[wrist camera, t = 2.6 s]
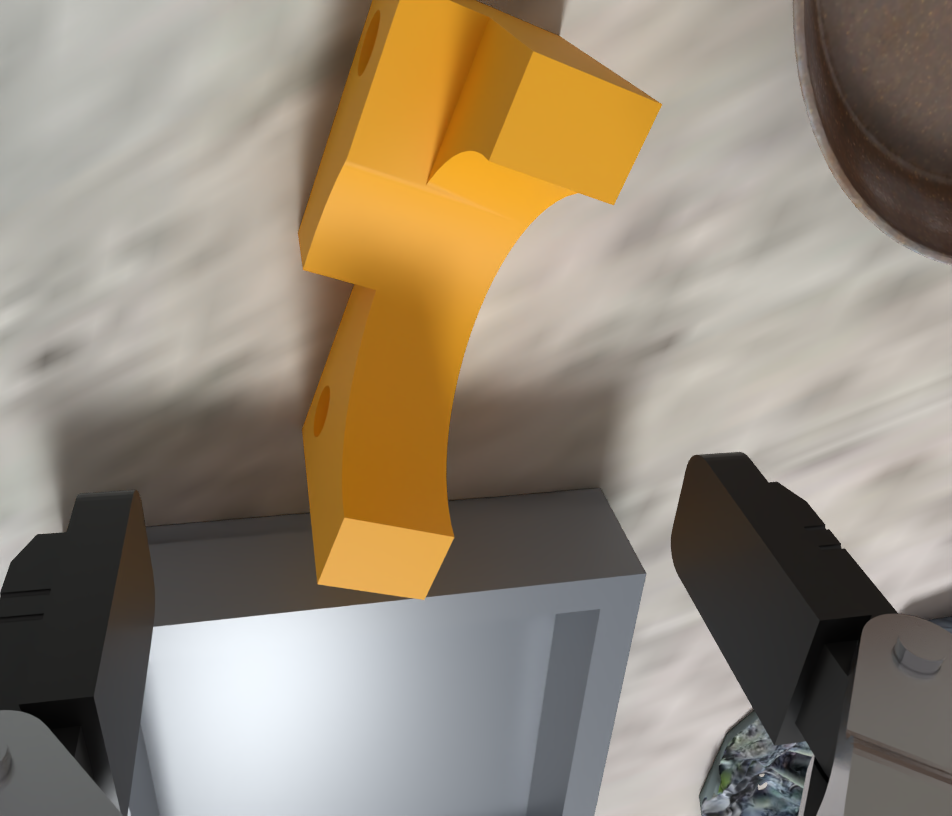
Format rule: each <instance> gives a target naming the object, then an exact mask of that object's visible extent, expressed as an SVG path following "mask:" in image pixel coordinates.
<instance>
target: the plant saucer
mask: <svg viewBox="0 0 952 816" xmlns="http://www.w3.org/2000/svg"><path fill="white" fill-rule="evenodd" d="M793 29H794V41H795V53H796V61H797V68H798V75H799V81H800V86H801V91H802V95H803V99H804V102H805V106H806V109H807V113H808V116H809V120H810V123H811V126H812V130H813V133H814V135H815V137H816V140H817V142H818V145H819V147H820V149H821V151H822V154H823V156H824V158H825V160H826V162H827V164H828V166H829V168H830V170H831V172H832V174H833V175H834V177H835V179H836V180H837V182H838V183H839V185H840V186H841V188H842V189H843V191H844V192H845V194H846V195H847V196H848V197H849V199H850V200H851V201H852V202H853V203H854V205H855V206H856V207H857V208H858V209H859V210H860V211H861V212H862V213H863V214H864V215H865V216H866V217H867V218H868V219H869V220H870V221H871V222H872V223H873V224H874V225H875V226H876V227H878V228H879V229H880V230H881V231H882V232H883V233H885V234H886V235H888V236H889V237H890V238H892V239H893V240H895V241H896V242H898V243H899V244H901V245H903V246H905V247H907V248H908V249H910V250H912V251H914V252H916V253H918V254H920V255H923V256H925V257H927V258H930V259H932V260H935V261H938V262H942V263H945V264H949V265H952V0H793Z"/></svg>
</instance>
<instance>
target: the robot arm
mask: <svg viewBox="0 0 952 816" xmlns="http://www.w3.org/2000/svg"><path fill="white" fill-rule="evenodd" d="M671 552H672V559H673V563H674V566H675V569H676V572H677V574H678V576H679V578H680V579H681V581H682V583H683V585H684V586H685V588H686V590H687V592H688V593H689V595H690V597H691V599H692V601H693V602H694V604H695V606H696V608H697V609H698V611H699V613H700V615H701V617H702V618H703V620H704V622H705V624H706V625H707V627H708V629H709V631H710V632H711V634H712V636H713V638H714V640H715V641H716V643H717V645H718V647H719V648H720V650H721V652H722V654H723V656H724V657H725V659H726V661H727V663H728V664H729V666H730V668H731V670H732V671H733V673H734V675H735V677H736V679H737V680H738V682H739V684H740V686H741V687H742V689H743V691H744V693H745V695H746V696H747V698H748V700H749V702H750V703H751V705H752V707H753V709H754V710H755V712H756V714H757V716H758V718H759V719H760V721H761V723H762V725H763V726H764V728H765V730H766V732H767V734H768V735H769V737H770V739H771V741H772V742H773V744H774V746H776V745H784V744H791V743H798V742H805V741H806V742H807V744H808V746H809V747H810V749H811V751H812V752H813V756H812V758H811V761H810V763H809V766H808V769H807V773H806V778H805V783H804V788H803V793H802V799H801V804H800V809H799V814H798V816H952V634H951V633H950V632H948V631H947V630H945V629H943V628H942V627H940V626H938V625H936V624H934V623H932V622H930V621H927V620H924V619H922V618H918V617H915V616H911V615H905V614H898V613H897V612H896V610H895V609H894V608H893V607H892V606H891V604H890V603H889V602H888V601H887V599H886V598H885V597H884V596H883V595H882V593H881V592H880V591H879V590H878V588H877V587H876V586H875V585H874V584H873V582H872V581H871V580H870V579H869V577H868V576H867V575H866V574H865V573H864V571H863V570H862V569H861V568H860V566H859V565H858V564H857V563H856V562H855V560H854V559H853V558H852V557H851V555H850V554H849V553H848V552H847V551H846V549H842V548H841V543H840V542H839V541H838V540H837V538H836V537H835V536H834V535H833V534H832V532H831V531H830V530H829V529H828V530H826V528H825V524H824V523H823V521H822V520H821V519H820V518H819V516H818V515H817V514H816V513H815V512H814V510H813V509H812V508H811V507H810V505H809V504H808V503H807V502H806V501H805V500H803V499H802V498H800V497H799V496H797V495H796V494H794V493H793V492H791V491H790V490H788V489H787V488H786V487H784V486H783V485H781V484H780V483H778V482H769V483H768V481H767V480H766V479H765V477H764V476H763V475H762V474H761V472H760V471H759V470H758V469H757V467H756V466H755V465H754V463H753V462H752V461H751V460H750V458H749V457H748V456H747V455H746V454H744V453H742V452H733V453H717V454H702V455H694V456H693V457H691V459H690V460H689V462H688V464H687V468H686V472H685V476H684V480H683V485H682V489H681V494H680V498H679V502H678V507H677V511H676V516H675V520H674V524H673V529H672V534H671ZM0 595H1V596H0V816H128V808H129V801H130V794H131V786H132V779H133V772H134V765H135V757H136V750H137V743H138V735H139V728H140V721H141V713H142V706H143V699H144V692H145V684H146V677H147V670H148V662H149V655H150V648H151V640H152V633H153V626H154V617H155V586H154V576H153V569H152V563H151V557H150V551H149V545H148V539H147V533H146V526H145V520H144V514H143V508H142V502H141V498H140V495H139V492H138V491H137V490H128V491H113V492H98V493H82V494H79V495H78V496H77V498H76V501H75V505H74V508H73V512H72V516H71V519H70V523H69V526H68V530H67V532H64V533H51V534H37V535H36V536H35V537H34V538H33V539H32V540H31V541H30V542H29V544H28V545H27V546H26V547H25V548H24V549H23V550H22V551H21V552H20V553H19V554H18V555H17V556H16V557H15V558H14V559H13V560H12V561H11V563H10V566H9V569H8V572H7V575H6V577H5V580H4V583H3V586H2V589H1V592H0Z"/></svg>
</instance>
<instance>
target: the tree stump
mask: <svg viewBox="0 0 952 816" xmlns="http://www.w3.org/2000/svg"><path fill="white" fill-rule="evenodd" d="M927 621H930V622H932V623H934V624H936V625H938V626H940V627H942V628H943V629H945V630H947V631H948V632H950V633H951V634H952V617H946V618H939V619H932V620H927ZM812 756H813V752H812V751H811V749H810V747H809V746H808V744H807V742H806V741H805V742H798V743H791V744H784V745H776V746H774V744H773V742H772V741H771V739H770V737H769V735H768V734H767V732H766V730H765V728H764V726H763V725H762V723H761V721H760V719H759V718H758V716H757V714H756V712H755V710H754V711H753V712H751V713H750V714H749V715H748V716H747V717H746V718H744V719H743V720H742V721H741V722H740V723H739V724H737V725H736V726H735V727H734V728H733V729H732V730H730V731H729V732H728V733H727V735H726V737H725V739H724V741H723V744H722V746H721V748H720V750H719V753H718V755H717V757H716V759H715V762H714V764H713V766H712V768H711V771H710V773H709V775H708V777H707V780H706V782H705V784H704V786H703V789H702V791H701V793H700V795H699V799H700V807H701V815H702V816H798V814H799V809H800V804H801V799H802V793H803V788H804V783H805V778H806V773H807V769H808V766H809V763H810V761H811V758H812ZM763 773H764V774H765V775H764V777H760V776H759V775H760V774H763ZM765 782H767V783H768V785H767V787H766V788H765V789H763V790H758V785H762V784H764V783H765Z"/></svg>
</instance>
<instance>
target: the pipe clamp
mask: <svg viewBox="0 0 952 816" xmlns="http://www.w3.org/2000/svg"><path fill="white" fill-rule="evenodd" d="M661 106H662V104H661V103H659V102H658V101H656V100H655V99H653V98H652V97H650V96H649V95H647V94H646V93H644V92H643V91H641V90H640V89H638V88H637V87H635V86H634V85H632V84H631V83H629V82H628V81H626V80H625V79H623V78H622V77H620V76H619V75H617V74H616V73H614V72H613V71H611V70H610V69H608V68H607V67H605V66H604V65H602V64H601V63H599V62H598V61H596V60H595V59H593V58H592V57H590V56H589V55H587V54H586V53H584V52H583V51H581V50H580V49H578V48H577V47H575V46H574V45H572V44H571V43H569V42H568V41H566V40H565V39H563V38H562V37H560V36H558V35H556V34H553V33H551V32H549V31H546V30H544V29H542V28H539V27H537V26H534V25H532V24H530V23H527V22H525V21H523V20H520V19H518V18H516V17H513V16H511V15H509V14H506V13H504V12H502V11H499V10H497V9H494V8H492V7H490V6H487V5H485V4H483V3H480V2H478V1H476V0H372V3H371V6H370V9H369V12H368V15H367V18H366V21H365V25H364V28H363V31H362V34H361V37H360V40H359V43H358V47H357V50H356V53H355V56H354V59H353V62H352V65H351V68H350V72H349V75H348V78H347V81H346V84H345V87H344V90H343V93H342V97H341V100H340V103H339V106H338V109H337V112H336V115H335V118H334V122H333V125H332V128H331V131H330V134H329V137H328V140H327V144H326V147H325V150H324V153H323V156H322V159H321V162H320V165H319V169H318V172H317V175H316V178H315V181H314V184H313V187H312V190H311V194H310V197H309V200H308V203H307V206H306V209H305V212H304V216H303V219H302V222H301V225H300V228H299V231H298V237H299V244H300V251H301V259H302V266H303V270H306V271H309V272H313V273H316V274H320V275H323V276H327V277H331V278H334V279H338V280H341V281H345V282H349V283H352V284H354V286H353V289H352V291H351V294H350V297H349V300H348V303H347V305H346V308H345V311H344V314H343V317H342V319H341V322H340V325H339V328H338V330H337V333H336V336H335V339H334V342H333V344H332V347H331V350H330V353H329V356H328V358H327V361H326V364H325V367H324V369H323V372H322V375H321V378H320V381H319V383H318V386H317V389H316V392H315V394H314V397H313V400H312V403H311V406H310V408H309V411H308V414H307V417H306V420H305V422H304V425H303V428H302V434H303V445H304V455H305V465H306V475H307V485H308V495H309V505H310V515H311V525H312V535H313V545H314V555H315V566H316V576H317V584H319V585H325V586H332V587H339V588H346V589H353V590H360V591H366V592H373V593H380V594H387V595H394V596H400V597H407V598H414V599H421V600H425V598H426V596H427V594H428V591H429V589H430V587H431V585H432V583H433V581H434V579H435V577H436V575H437V573H438V571H439V568H440V566H441V564H442V562H443V560H444V558H445V556H446V554H447V552H448V550H449V548H450V546H451V543H452V541H453V539H454V533H453V529H452V525H451V520H450V514H449V507H448V498H447V480H446V465H447V445H448V434H449V425H450V418H451V411H452V405H453V400H454V394H455V389H456V385H457V380H458V376H459V372H460V368H461V364H462V360H463V357H464V353H465V350H466V347H467V343H468V340H469V337H470V334H471V331H472V328H473V326H474V323H475V320H476V318H477V315H478V313H479V310H480V308H481V305H482V303H483V301H484V298H485V296H486V294H487V292H488V290H489V288H490V285H491V283H492V281H493V279H494V277H495V276H496V274H497V272H498V270H499V268H500V266H501V265H502V263H503V261H504V260H505V258H506V256H507V255H508V253H509V251H510V250H511V248H512V247H513V246H514V244H515V243H516V241H517V240H518V238H519V237H520V236H521V235H522V233H523V232H524V231H525V230H526V228H527V227H528V226H529V225H530V224H531V223H532V222H533V221H534V220H535V219H536V218H537V217H538V216H539V215H540V214H541V213H542V212H543V211H544V210H546V209H547V208H548V207H549V206H551V205H552V204H554V203H555V202H557V201H558V200H560V199H562V198H564V197H566V196H569V195H573V194H576V193H581V194H583V195H586V196H589V197H592V198H595V199H598V200H600V201H603V202H606V203H609V204H612V205H614V204H615V202H616V199H617V197H618V195H619V193H620V191H621V189H622V187H623V185H624V183H625V181H626V179H627V177H628V174H629V172H630V170H631V168H632V166H633V164H634V162H635V160H636V158H637V156H638V154H639V152H640V149H641V147H642V145H643V143H644V141H645V139H646V137H647V135H648V133H649V131H650V129H651V127H652V124H653V122H654V120H655V118H656V116H657V114H658V112H659V110H660V108H661Z"/></svg>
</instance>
